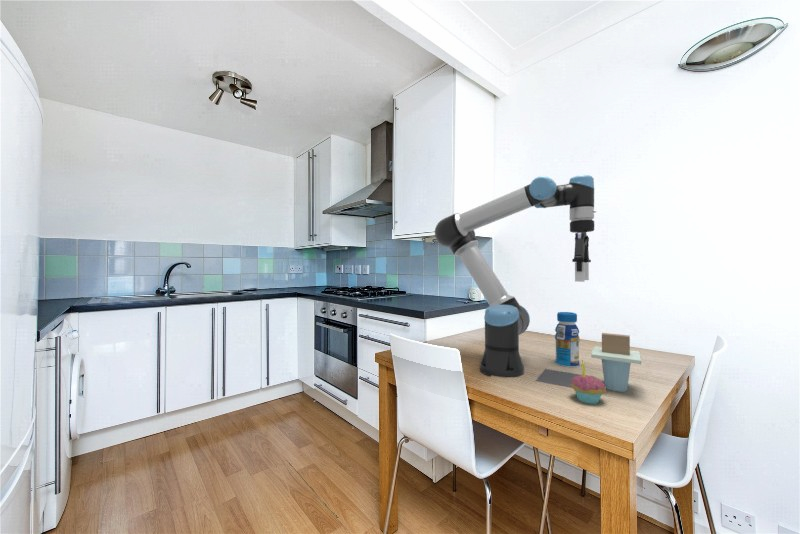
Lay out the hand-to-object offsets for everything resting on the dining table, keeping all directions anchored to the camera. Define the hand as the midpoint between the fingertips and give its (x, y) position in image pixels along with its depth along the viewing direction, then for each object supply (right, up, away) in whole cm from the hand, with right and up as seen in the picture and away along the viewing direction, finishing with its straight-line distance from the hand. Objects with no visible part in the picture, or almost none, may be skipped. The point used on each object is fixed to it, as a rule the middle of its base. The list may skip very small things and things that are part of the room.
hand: (582, 280), depth 112 cm
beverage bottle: (0, -33, +10) cm, 34 cm away
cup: (+2, -33, -15) cm, 36 cm away
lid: (+2, -22, -15) cm, 27 cm away
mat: (-10, -33, -7) cm, 35 cm away
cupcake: (-12, -33, -23) cm, 42 cm away
